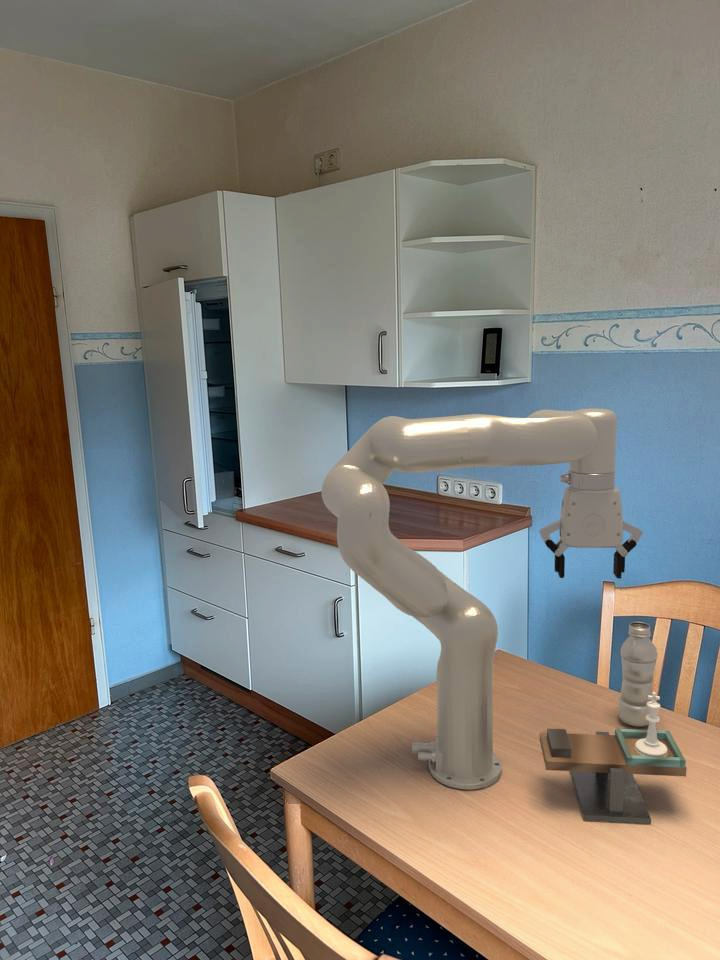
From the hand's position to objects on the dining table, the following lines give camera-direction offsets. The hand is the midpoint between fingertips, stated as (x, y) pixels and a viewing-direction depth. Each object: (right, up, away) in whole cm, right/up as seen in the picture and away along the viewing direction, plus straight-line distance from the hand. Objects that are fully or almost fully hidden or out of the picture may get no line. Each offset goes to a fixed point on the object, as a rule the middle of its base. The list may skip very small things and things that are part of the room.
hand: (588, 575), depth 127 cm
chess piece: (+6, -27, -12) cm, 30 cm away
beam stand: (0, -35, -10) cm, 36 cm away
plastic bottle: (+13, -30, +12) cm, 35 cm away
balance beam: (0, -28, -11) cm, 30 cm away
